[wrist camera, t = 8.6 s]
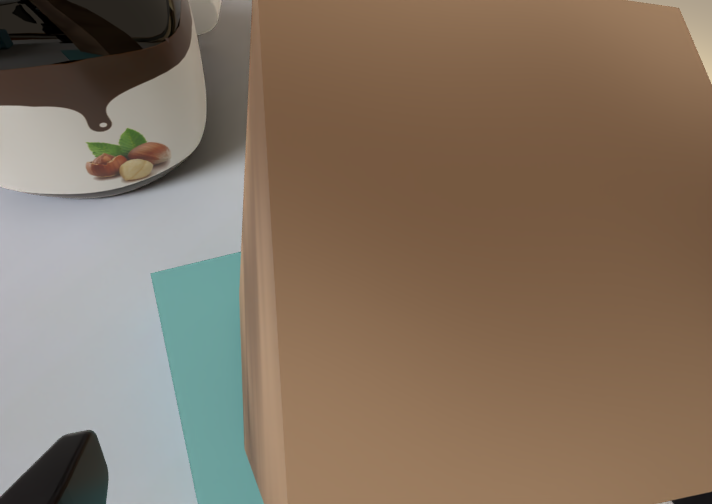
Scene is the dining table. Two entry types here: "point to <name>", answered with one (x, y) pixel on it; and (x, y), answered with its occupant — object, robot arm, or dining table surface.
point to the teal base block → (208, 374)
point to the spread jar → (99, 92)
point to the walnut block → (476, 253)
